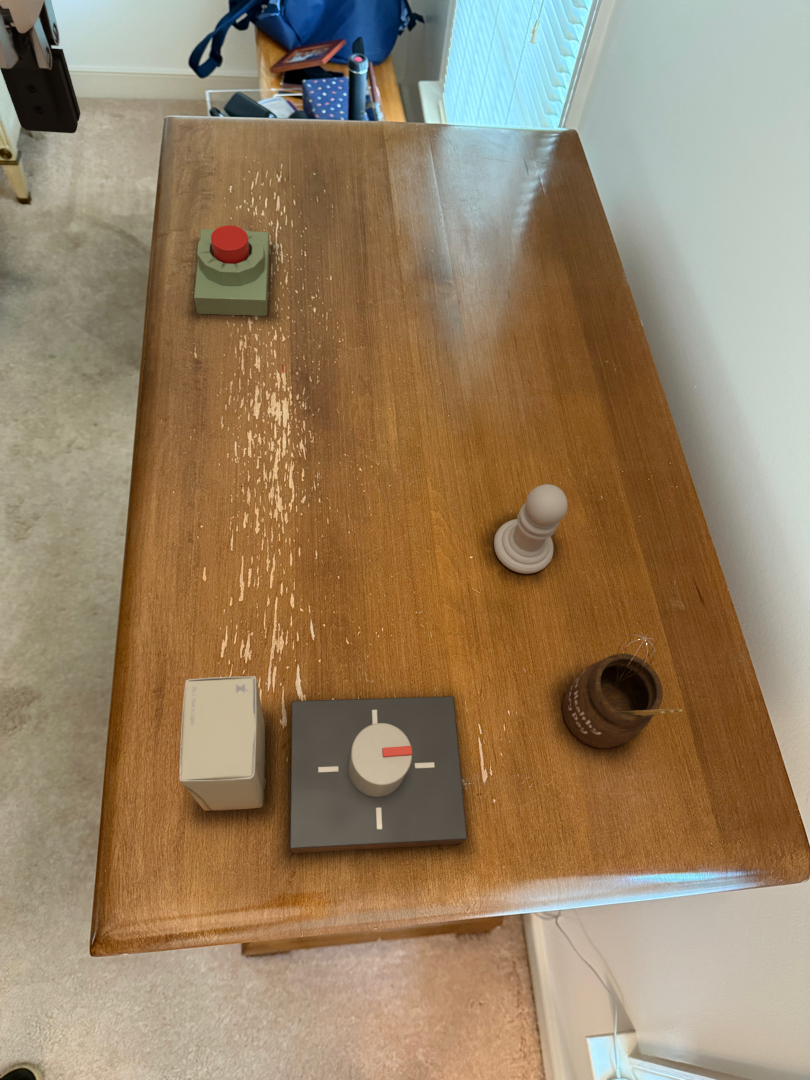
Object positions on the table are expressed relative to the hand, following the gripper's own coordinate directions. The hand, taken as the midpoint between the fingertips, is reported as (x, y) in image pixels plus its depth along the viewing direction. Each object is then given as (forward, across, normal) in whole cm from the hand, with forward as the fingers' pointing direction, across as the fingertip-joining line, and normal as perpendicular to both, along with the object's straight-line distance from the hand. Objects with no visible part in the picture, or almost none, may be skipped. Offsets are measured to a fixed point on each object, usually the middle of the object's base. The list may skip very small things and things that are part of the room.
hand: (52, 123), depth 45 cm
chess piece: (+27, +15, +34) cm, 46 cm away
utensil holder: (+27, +30, +38) cm, 56 cm away
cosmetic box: (+27, +33, +10) cm, 44 cm away
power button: (+24, -17, +8) cm, 30 cm away
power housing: (+27, -17, +8) cm, 33 cm away
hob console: (+27, +34, +20) cm, 48 cm away
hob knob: (+24, +34, +20) cm, 46 cm away
